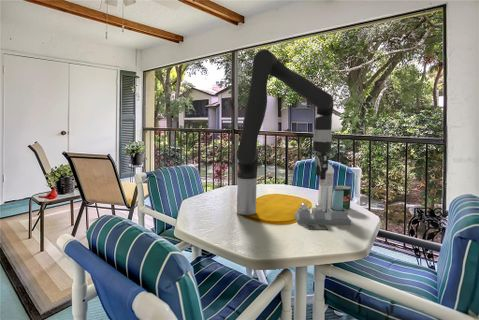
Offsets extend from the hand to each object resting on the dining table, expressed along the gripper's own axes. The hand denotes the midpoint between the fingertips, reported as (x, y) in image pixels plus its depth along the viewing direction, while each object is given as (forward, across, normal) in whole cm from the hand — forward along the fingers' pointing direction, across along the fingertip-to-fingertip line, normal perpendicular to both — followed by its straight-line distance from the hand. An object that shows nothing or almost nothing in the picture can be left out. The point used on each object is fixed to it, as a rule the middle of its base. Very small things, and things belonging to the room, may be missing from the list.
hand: (320, 177), depth 131 cm
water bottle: (+20, -17, +7) cm, 27 cm away
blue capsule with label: (+18, -1, +8) cm, 20 cm away
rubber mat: (+20, +8, -2) cm, 21 cm away
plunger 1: (+17, 0, -7) cm, 18 cm away
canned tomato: (+20, -22, +17) cm, 34 cm away
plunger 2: (+17, 0, 0) cm, 17 cm away
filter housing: (+20, -1, +2) cm, 20 cm away
